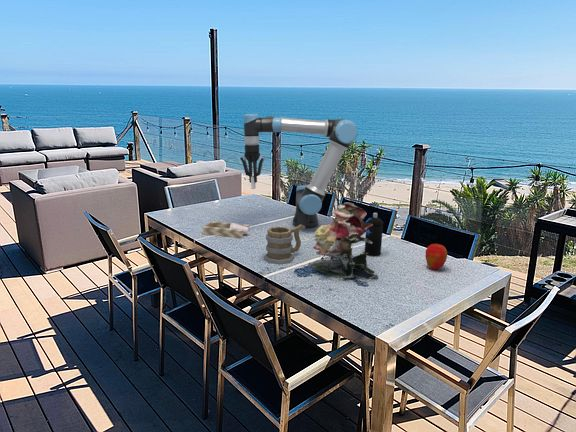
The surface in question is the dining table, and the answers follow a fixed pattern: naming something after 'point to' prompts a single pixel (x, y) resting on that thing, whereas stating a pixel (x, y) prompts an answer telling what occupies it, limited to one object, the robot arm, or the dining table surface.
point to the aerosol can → (374, 236)
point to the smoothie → (240, 228)
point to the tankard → (282, 244)
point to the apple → (436, 256)
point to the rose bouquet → (342, 243)
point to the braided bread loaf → (222, 230)
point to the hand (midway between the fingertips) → (253, 188)
